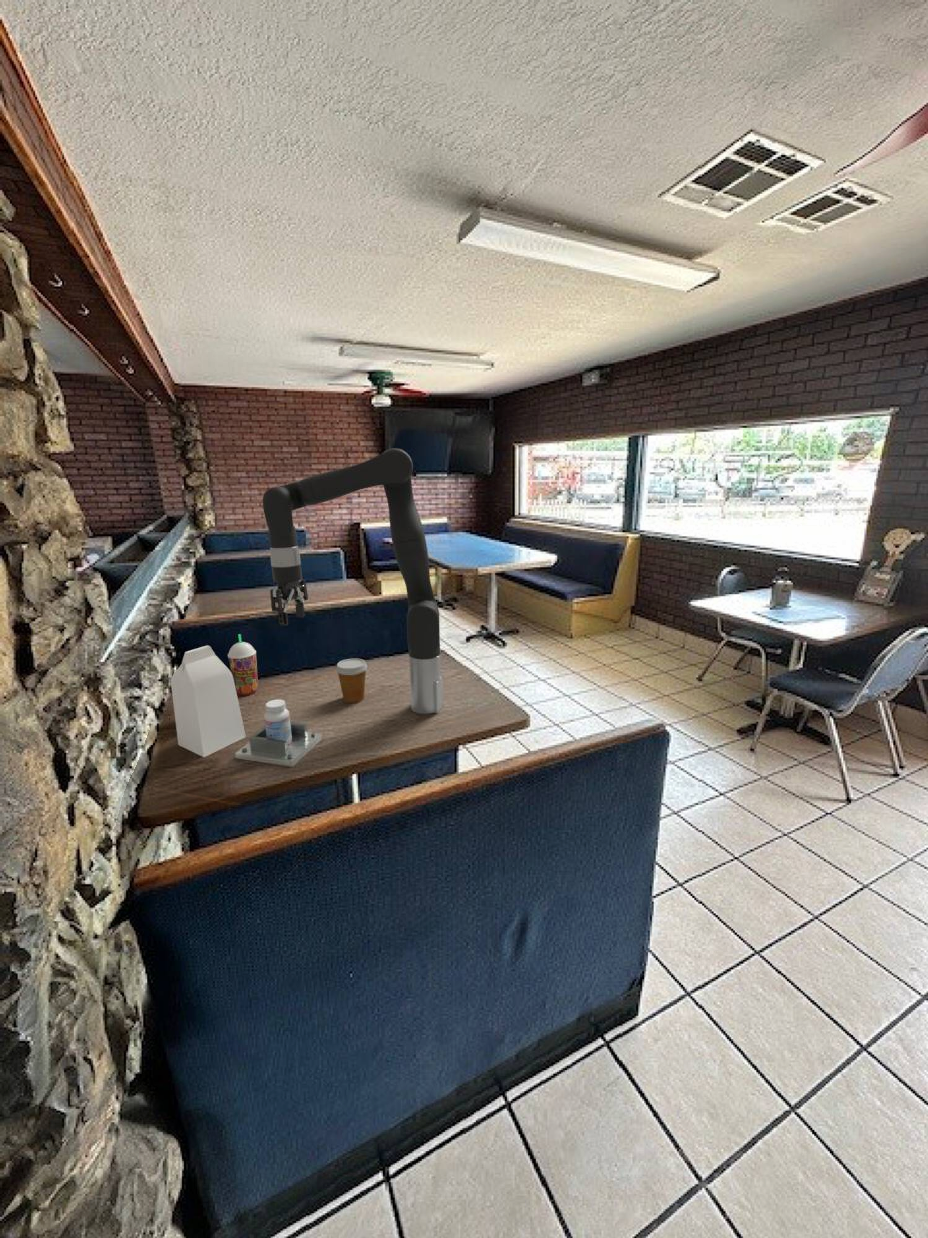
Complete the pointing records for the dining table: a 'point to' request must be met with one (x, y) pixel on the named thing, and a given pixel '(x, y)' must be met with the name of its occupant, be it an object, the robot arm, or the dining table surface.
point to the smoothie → (243, 667)
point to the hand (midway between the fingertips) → (292, 621)
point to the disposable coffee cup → (352, 679)
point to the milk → (205, 703)
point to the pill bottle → (277, 721)
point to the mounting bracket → (279, 746)
